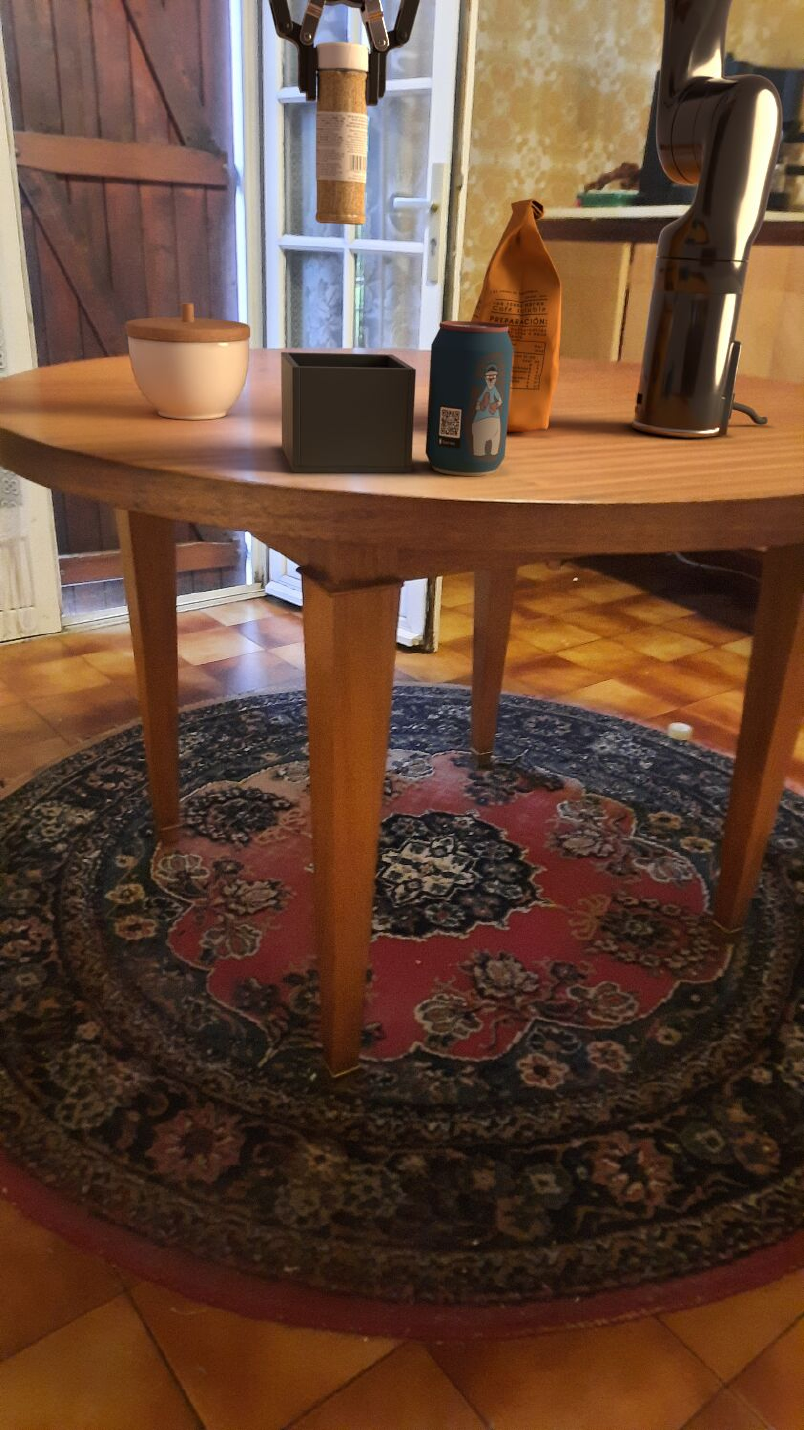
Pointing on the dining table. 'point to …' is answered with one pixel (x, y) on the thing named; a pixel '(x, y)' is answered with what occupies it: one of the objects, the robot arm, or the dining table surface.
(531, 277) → the coffee package
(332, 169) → the sprinkles bottle
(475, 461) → the soda can
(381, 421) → the storage bin
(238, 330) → the lidded bowl
